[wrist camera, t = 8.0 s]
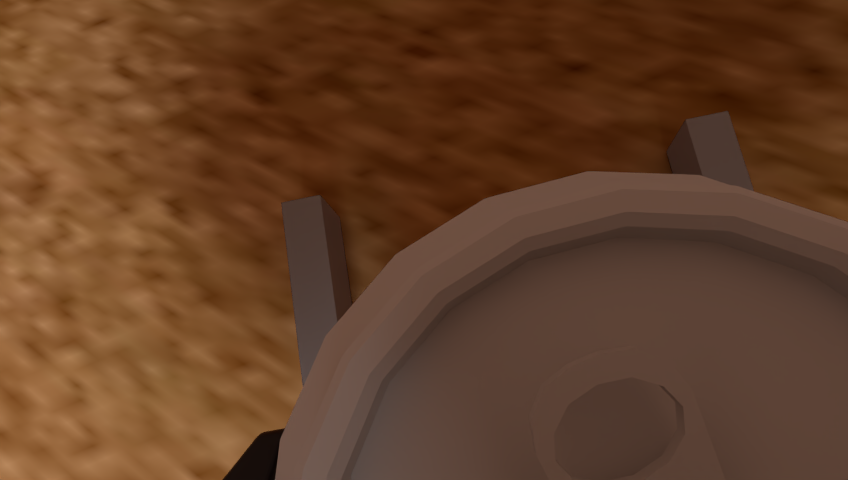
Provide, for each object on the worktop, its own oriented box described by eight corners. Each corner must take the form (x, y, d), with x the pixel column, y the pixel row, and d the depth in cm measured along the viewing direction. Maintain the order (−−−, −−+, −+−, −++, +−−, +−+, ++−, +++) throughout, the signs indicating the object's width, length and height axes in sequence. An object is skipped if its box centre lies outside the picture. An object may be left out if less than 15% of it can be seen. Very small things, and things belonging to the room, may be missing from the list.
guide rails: (843, 595, 15) (893, 622, 13) (361, 668, 16) (340, 704, 14) (704, 143, 18) (728, 110, 16) (304, 224, 19) (281, 202, 17)
